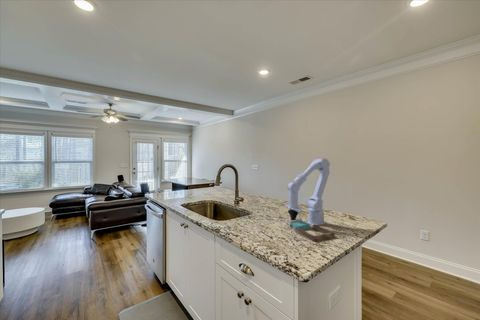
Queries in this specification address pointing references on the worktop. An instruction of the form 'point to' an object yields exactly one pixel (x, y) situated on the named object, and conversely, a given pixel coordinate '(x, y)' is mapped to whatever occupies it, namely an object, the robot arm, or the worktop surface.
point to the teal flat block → (299, 224)
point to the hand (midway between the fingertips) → (293, 221)
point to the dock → (326, 235)
